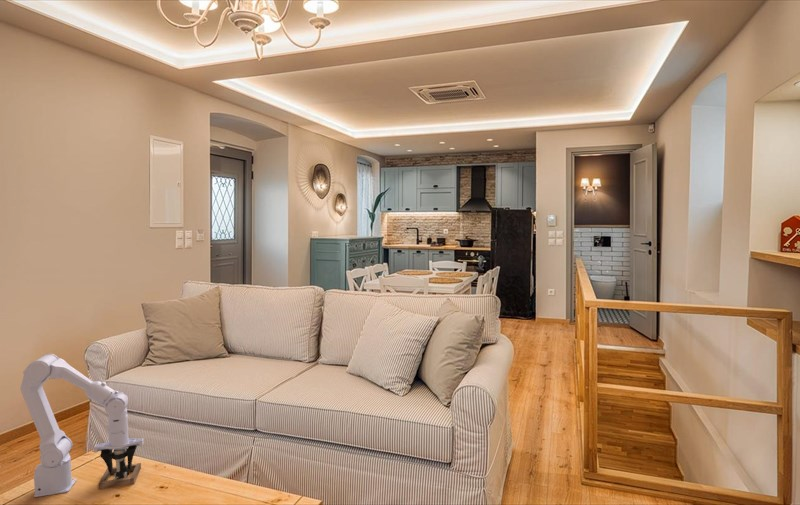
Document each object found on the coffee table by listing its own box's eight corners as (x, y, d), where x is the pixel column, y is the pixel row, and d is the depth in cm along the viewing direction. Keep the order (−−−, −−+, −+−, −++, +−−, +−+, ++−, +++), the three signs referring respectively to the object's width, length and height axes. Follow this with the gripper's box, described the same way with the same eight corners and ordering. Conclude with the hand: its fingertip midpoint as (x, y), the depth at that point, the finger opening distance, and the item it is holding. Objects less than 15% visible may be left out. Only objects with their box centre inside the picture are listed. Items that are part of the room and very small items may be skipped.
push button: (121, 483, 157) (119, 454, 157) (106, 483, 158) (104, 454, 157) (134, 473, 164) (132, 445, 163) (119, 473, 164) (117, 445, 164)
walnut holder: (98, 489, 154) (98, 483, 154) (107, 473, 164) (107, 467, 164) (134, 483, 157) (134, 478, 157) (141, 468, 167) (140, 462, 167)
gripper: (144, 422, 166) (146, 459, 167) (97, 428, 161) (99, 466, 162) (140, 430, 159) (142, 469, 160) (91, 436, 155) (93, 477, 155)
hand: (120, 468), depth 160 cm, fingers closed on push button, 5 cm apart
